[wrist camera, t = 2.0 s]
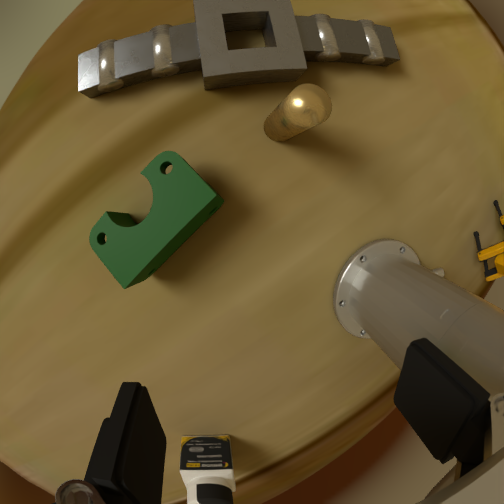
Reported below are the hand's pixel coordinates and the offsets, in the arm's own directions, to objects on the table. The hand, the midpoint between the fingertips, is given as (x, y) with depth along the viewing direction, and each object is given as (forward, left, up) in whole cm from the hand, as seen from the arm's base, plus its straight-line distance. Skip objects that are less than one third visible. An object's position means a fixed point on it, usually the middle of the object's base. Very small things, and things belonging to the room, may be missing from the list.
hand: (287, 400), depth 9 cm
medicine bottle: (+10, +30, -22) cm, 38 cm away
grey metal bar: (-4, -21, -21) cm, 30 cm away
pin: (-6, -11, -21) cm, 25 cm away
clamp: (+7, -5, -22) cm, 23 cm away
